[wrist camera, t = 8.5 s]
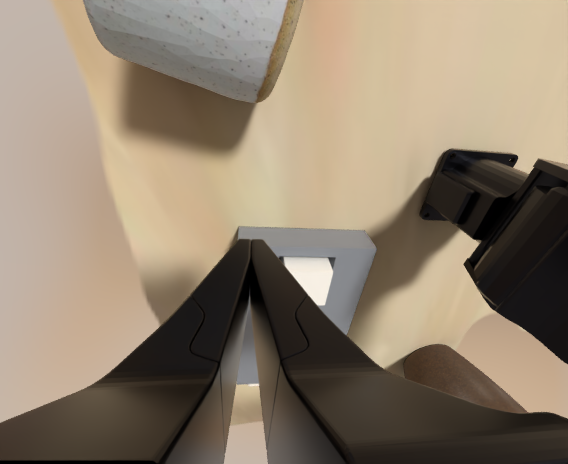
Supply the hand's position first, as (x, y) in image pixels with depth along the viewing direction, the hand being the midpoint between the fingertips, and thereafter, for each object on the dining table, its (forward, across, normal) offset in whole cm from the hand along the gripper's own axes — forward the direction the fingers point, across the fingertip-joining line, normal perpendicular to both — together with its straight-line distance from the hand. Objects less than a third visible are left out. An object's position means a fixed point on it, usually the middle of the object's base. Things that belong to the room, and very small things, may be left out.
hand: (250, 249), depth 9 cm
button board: (+13, -5, +18) cm, 22 cm away
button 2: (+13, -5, +10) cm, 17 cm away
